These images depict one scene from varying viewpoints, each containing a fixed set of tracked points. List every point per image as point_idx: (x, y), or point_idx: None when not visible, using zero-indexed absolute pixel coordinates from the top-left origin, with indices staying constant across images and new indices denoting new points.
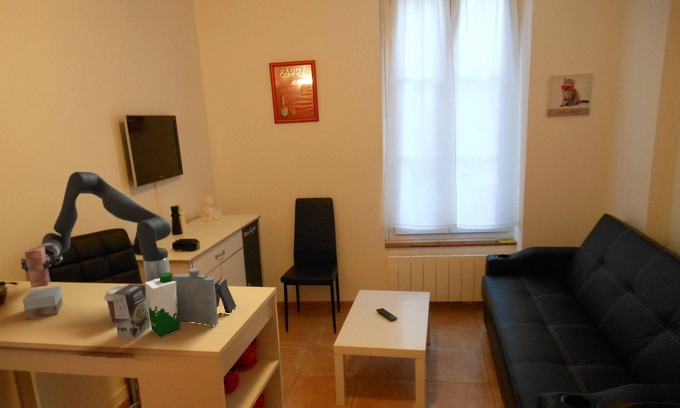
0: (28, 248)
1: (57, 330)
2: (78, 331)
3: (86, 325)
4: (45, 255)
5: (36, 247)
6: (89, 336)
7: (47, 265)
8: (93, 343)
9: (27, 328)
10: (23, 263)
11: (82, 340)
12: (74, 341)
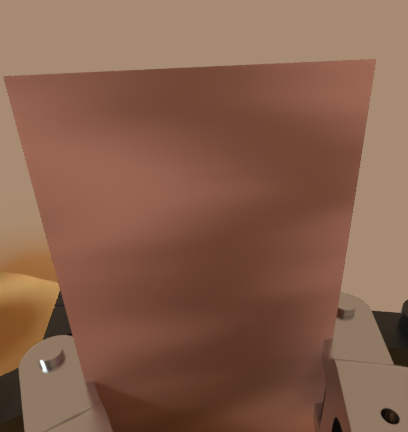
0: (357, 60)
1: None
2: (35, 328)
3: (4, 360)
4: (69, 290)
5: (197, 67)
6: (11, 301)
7: None
8: (10, 276)
9: None
10: (403, 308)
11: (32, 288)
12: (51, 287)
